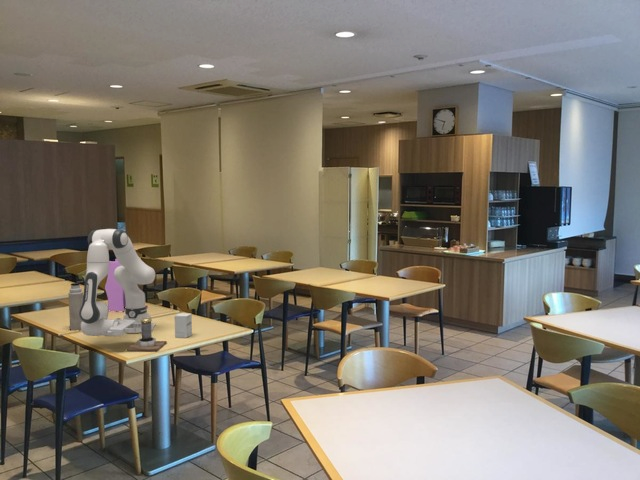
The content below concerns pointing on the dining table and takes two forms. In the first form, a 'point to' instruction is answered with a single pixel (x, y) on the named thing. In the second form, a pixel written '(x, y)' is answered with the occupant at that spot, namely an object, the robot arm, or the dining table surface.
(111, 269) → the container
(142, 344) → the steel collar
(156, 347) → the mount plate
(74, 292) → the thermos bottle
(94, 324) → the robot arm
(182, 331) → the supplement box
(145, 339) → the dark grey canister
